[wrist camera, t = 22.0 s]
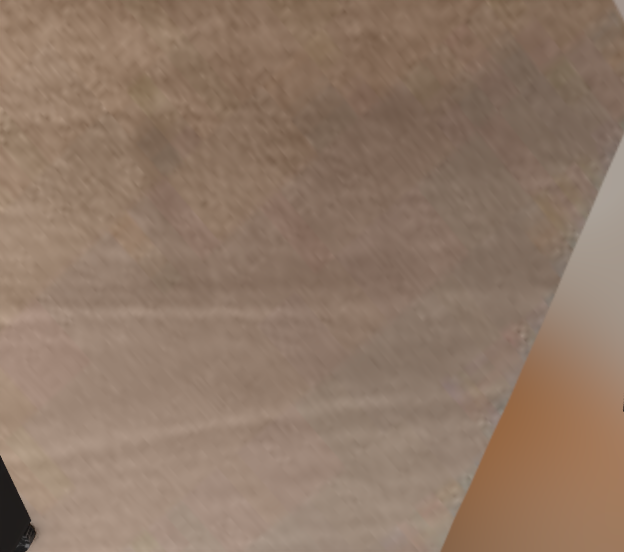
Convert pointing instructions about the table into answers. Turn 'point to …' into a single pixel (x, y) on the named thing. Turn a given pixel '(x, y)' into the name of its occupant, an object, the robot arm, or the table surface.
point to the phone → (26, 540)
